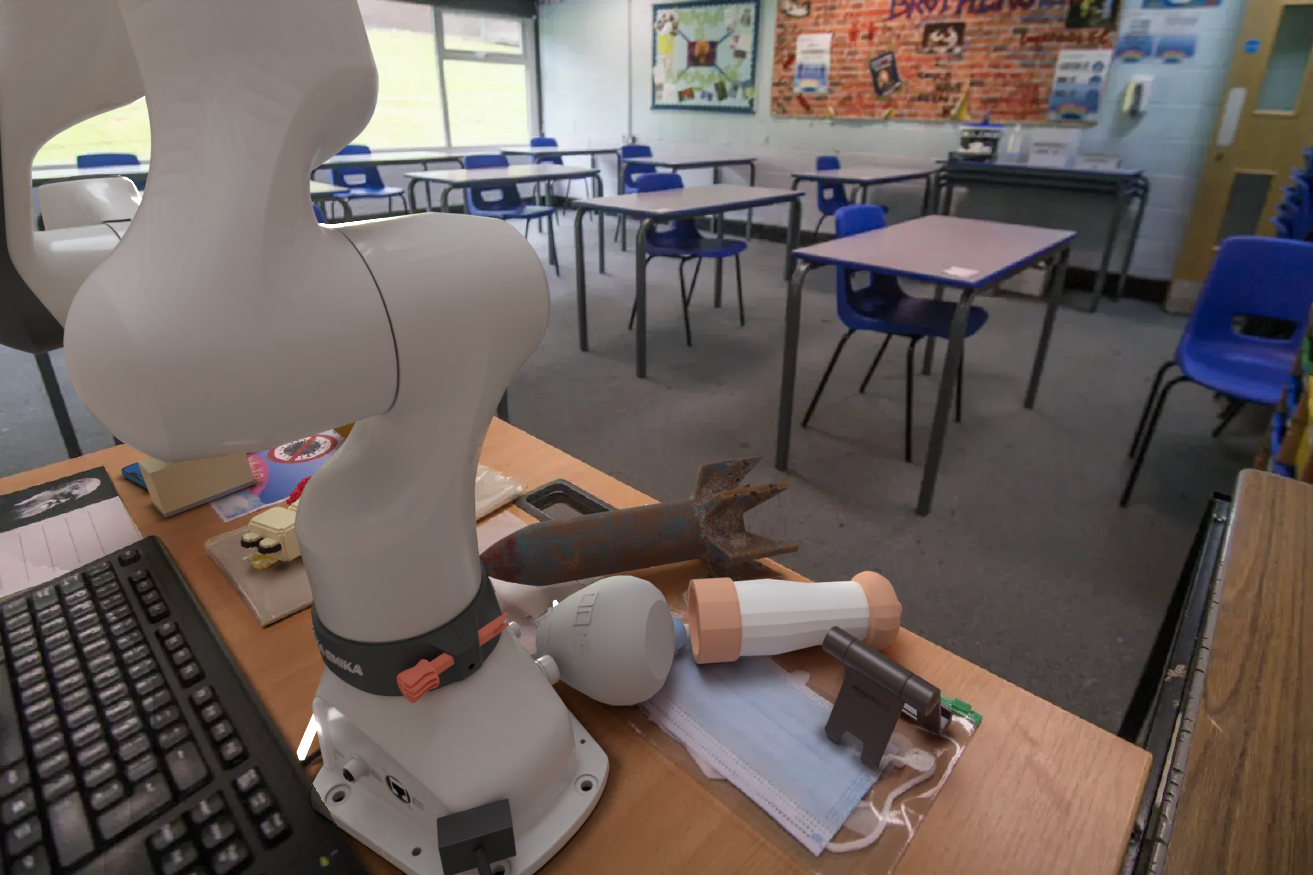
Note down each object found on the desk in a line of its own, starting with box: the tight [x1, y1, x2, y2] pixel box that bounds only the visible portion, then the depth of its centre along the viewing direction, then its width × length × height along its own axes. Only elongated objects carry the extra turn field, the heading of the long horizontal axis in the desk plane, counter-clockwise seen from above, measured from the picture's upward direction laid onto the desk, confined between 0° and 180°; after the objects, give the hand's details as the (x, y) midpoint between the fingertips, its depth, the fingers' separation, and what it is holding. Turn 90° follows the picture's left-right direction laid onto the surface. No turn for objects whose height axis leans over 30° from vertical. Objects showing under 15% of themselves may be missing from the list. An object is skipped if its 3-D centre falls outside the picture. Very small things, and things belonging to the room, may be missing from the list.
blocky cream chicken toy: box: [240, 475, 313, 570], centre depth 80 cm, size 10×9×25 cm
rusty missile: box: [479, 455, 799, 587], centre depth 69 cm, size 12×12×30 cm
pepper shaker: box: [687, 570, 903, 665], centre depth 63 cm, size 7×7×19 cm
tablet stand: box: [821, 626, 955, 769], centre depth 54 cm, size 9×8×8 cm
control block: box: [137, 453, 256, 518], centre depth 84 cm, size 4×10×6 cm, turn 140°
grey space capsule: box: [529, 575, 675, 707], centre depth 58 cm, size 10×10×12 cm
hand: (176, 447), depth 81 cm, fingers closed
